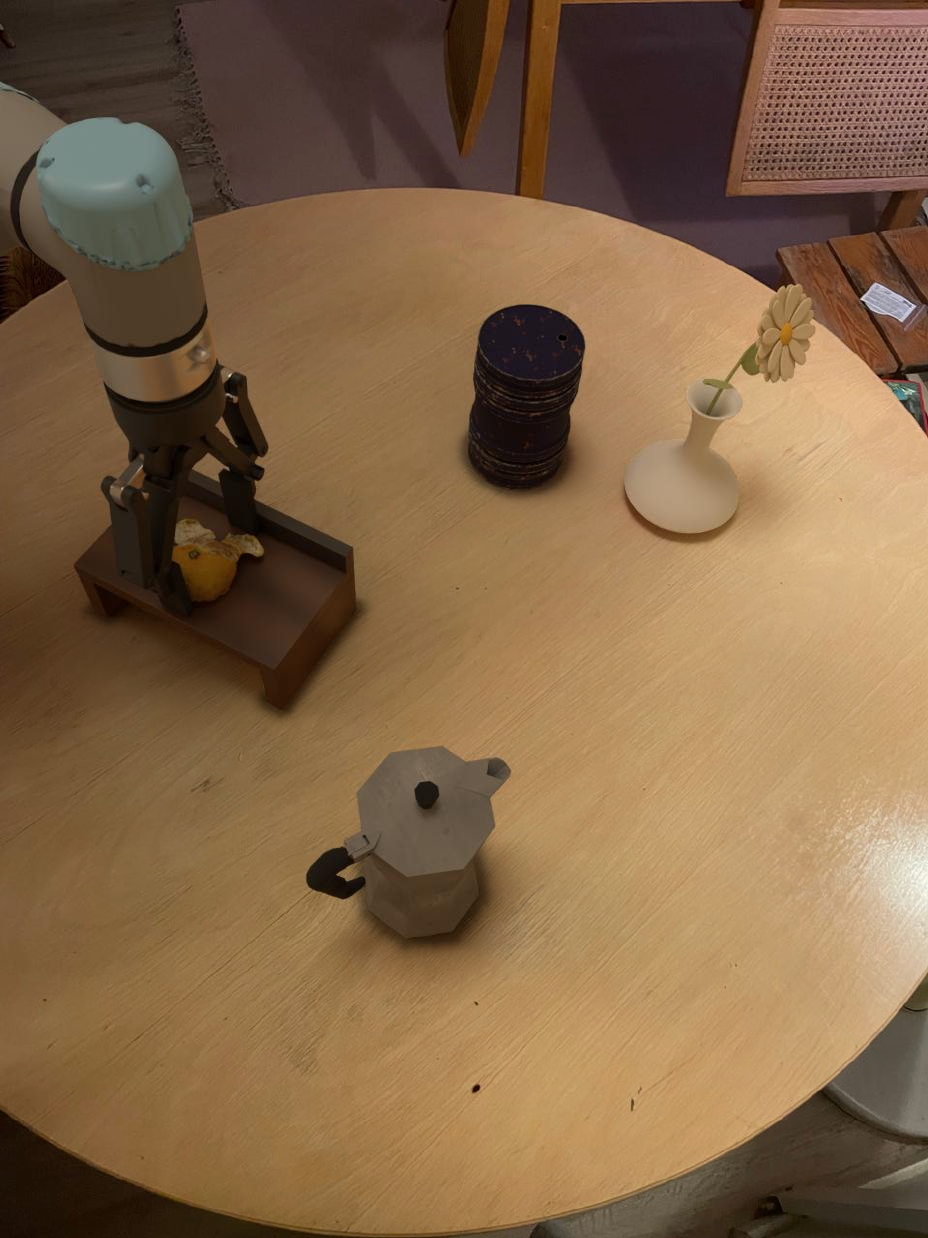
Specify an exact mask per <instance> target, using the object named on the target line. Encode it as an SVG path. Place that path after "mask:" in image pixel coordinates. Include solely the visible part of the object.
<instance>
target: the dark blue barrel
mask: <svg viewBox="0 0 928 1238" xmlns="http://www.w3.org/2000/svg"><path fill="white" fill-rule="evenodd" d="M585 352H586V339H585V335H584V334H583V332H582V330H581V328H580V327H579V326H578V324H577V323H576V322H575V321H574V320H573V319H572V318H570V317H569V316H567V314H565V313H562V312H561V311H558V310H557V309H555V308H552V307H549V306H545V305H538V304H533V303H532V304H530V303H521V304H519V303H518V304H513V305H509V306H505V307H502V308H500V309H498V310H496V311H494V312H492V313H491V314H490V315H489V316H488V317H486V319H485V320H484V321H483V322H482V324H481V325H480V328H479V330H478V334H477V347H476V352H475V355H474V362H473V363H474V365H473V373H472V382H473V389H474V393H475V394H474V400H473V403H472V404H471V409H470V410H469V411H470V412H469V416H468V417H469V418H468V429H467V430H468V432H467V433H468V435H467V436H468V445H467V456H468V460H469V463H470V465H471V467H472V469H473V471H475V473H476V474H477V475H478V476H479V477H481V478H482V479H483V480H485V481H486V482H487V483H489V484H490V485H493V486H495V487H497V488H501V489H505V490H511V491H527V490H533V489H536V488H538V487H542V486H544V485H545V484H547V483H548V482H550V481H551V480H552V479H554V477H556V475H558V473H559V471H560V469H561V467H562V464H563V458H564V454H565V451H566V449H567V445H568V441H569V435H570V433H571V429H572V428H571V427H572V426H571V425H572V423H571V422H572V421H571V408H572V406H573V404H574V402H575V400H576V399H577V395H578V393H579V388H580V383H581V377H582V372H583V363H584V362H583V361H584V359H585V354H586V353H585Z"/></svg>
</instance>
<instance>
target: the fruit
mask: <svg viewBox="0 0 928 1238" xmlns="http://www.w3.org/2000/svg"><path fill="white" fill-rule="evenodd" d="M214 538H216V537H215V535H214V534H213V532H212V531H211V530H210V529H205V528H203V526H201V525H200V523H199V522H198V520H194V519H187V518H185V519H184V520H181V521H179V523H177V524H176V531H175V539H174V542H176V543H177V544H179V545H177V546H176V547H173V555H172V561H174V562H176V563H178V564H180V567H181V570H182V574H183V577H184V580H185V584H186V587H187V590H188V594H189V597H190V600H191V601H192V602H193V601H197V602H200V601H208V602H209V600H210V601H214V600H215V599H216V598H217V597H218V596H219V595H224V594H225V593H226V592H227V591H228V590H230V585H231V583H232V581H233V579H234V576H235V575H236V571H237V569H236V568H237V565H236V562H237V561H238V559H239V557H240V555H241V554H242V553H251V554H253V555H254V556H255V557H261V556H263V554H264V549H263V547H262V546H261V544H260V542H259V541H258V539H257V538H256V537H255V536H254V535H250V534H246V535H236V536H234V535H232V534H231V533H229V534H228V536H227V537H226V538H225V539H224V540H223V541H221V542H218V541H216V540H214Z"/></svg>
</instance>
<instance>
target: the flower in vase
mask: <svg viewBox="0 0 928 1238" xmlns="http://www.w3.org/2000/svg"><path fill="white" fill-rule="evenodd" d="M803 291H804V287H803V285H802V284H800V283H797V284H795V285H793V284H792V283H790V284H788V285H787V286H786V287H785V285H782V286H780V287H779V289H778V290H777V292H776V293H773V294H772V295H771V297H770V299H769V303H768V304H769V305H768V307H765V308H764V309H763V311H762V313H761V320H760V322H758V325H757V330H756V332H757V334H758V336H757V337H756V339H755V341H754V342H753V343H752V344H751V345H750V346H749V347H748V348H747V349H746V350H745V351H744V353H743V354H742V355H741V357H740V358H739V359H738V361H737V362H736V364H735V365H734V366H733V368H732V369H731V370H730V372H729V373H728V375H727V376H726V378H725V379H724V380H723V379H719V378H713V377H705V378H699V379H697V380H694V381H693V382H691V383H690V384H689V386H688V387H687V389H686V392H685V399H686V402H687V405H688V407H689V408H690V410H691V421H690V425H689V430H688V434H687V436H686V439H684V438H670V439H663V440H658V441H655V442H652V443H650V444H648V445H646V446H644V447H643V448H641V449H640V450H639V451H638V452H637V453H636V454H635V455H634V456H633V457H632V458H631V460H630V461H629V462H628V464H627V466H626V468H625V471H624V476H623V484H624V489H625V494H626V496H627V498H628V499H629V501H630V503H631V504H632V506H633V507H634V509H635V510H636V511H637V512H638V513H639V514H640V515H641V516H642V517H643V518H644V519H645V520H647V521H648V522H650V523H651V524H653V525H655V526H657V527H659V528H661V529H663V530H666V531H670V532H674V533H679V534H699V533H704V532H708V531H712V530H714V529H716V528H719V527H721V526H722V525H724V524H725V523H727V522H728V521H729V520H730V519H731V518H732V517H733V515H734V514H735V512H736V511H737V508H738V506H739V503H740V498H741V497H740V496H741V495H740V494H741V493H740V484H739V480H738V477H737V475H736V472H735V470H734V469H733V467H732V465H730V463H729V461H727V459H725V458H724V457H723V456H722V455H721V454H720V453H718V451H716V450H715V449H713V448H711V443H712V441H713V438H714V437H715V434H716V433H717V431H718V429H719V428H720V427H721V425H722V424H723V423H724V422H725V421H726V420H730V419H732V418H734V417H735V416H737V415H738V414H739V412H741V410H742V408H743V398H742V395H741V393H740V392H739V390H738V389H737V388H736V387H735V386H733V385H732V384H731V383H729V382H730V380H731V379H732V377H733V376H734V375H735V373H736V372H737V370H738V369H739V367H740V366H741V369H742V370H743V371H744V372H745V373H746V374H747V375H749V376H752V377H753V376H756V375H759V374H761V375H763V380H764V382H765V383H769V382H771V383H772V384H775V383H777V382H779V380H780V378H781V380H782V381H783V382H784V383H786V382H787V381H788V380H789V379H790V380H791V379H792V378H793V377H794V376H795V375H794V374H795V369H796V364H798V365H799V366H803V365H805V364H806V362H807V355H806V352H808V351H809V349H810V347H811V342H810V340H809V339H810V338H812V337H813V336H814V335H815V334H816V326H815V325H814V324H812V323H811V322H812V321H813V319H814V315H815V312H814V310H812V309H811V308H812V305H813V300H812V298H811V297H807V294H806V293H805V292H804V293H803Z"/></svg>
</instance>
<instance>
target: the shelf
mask: <svg viewBox="0 0 928 1238" xmlns="http://www.w3.org/2000/svg"><path fill="white" fill-rule="evenodd" d="M168 481H169V480H168ZM170 482H172V481H170ZM255 505H256V510H257V516H258V521H259V526H260V531H259V532H258V533H257V535H256V536H255V537H256V538H257V539H258V541H259V542H260V544H261V546H262V547H263V549H264V554H263V556H261V557H255V556H254V555H253V554H251V553H242V554H241V555H240V557H239V559H238V561H237V562H236V565H237V568H236V569H237V571H236V575H235V576H234V579H233V581H232V583H231V585H230V590H228V591H227V592H226V593H225V594H224V595H219V596H218V597H217V598H216V599H215V600H214V601H210V600H209V602H208V601H200V602H197V601H193V602H192V601H191V603H192V607H193V612H192V613H191V614H190V615H189V616H188V617H187V616H185V615H183V614H181V613H179V612H177V611H175V610H174V609H172V608H170V607H168V606H166V605H164V604H162V603H161V602H160V599H159V596H158V595H157V594H155V593H153V592H152V591H150V590H149V589H148V590H145V589H143V588H141V587H139V586H137V585H135V584H133V583H131V582H129V581H127V580H126V579H124V578H122V577H120V576H118V574H117V565H116V557H115V549H114V540H113V532H112V524H111V523H110V525H109V526H108V527H107V528H106V529H105V530H104V531H103V532H102V533H101V534H100V535H99V536H98V538H96V539H95V540H94V542H93V543H92V544H91V545H90V546H89V547H88V548H87V549H86V550H85V551H84V553H82V554H81V556H80V557H79V558H78V559H77V560H76V561H75V562H74V563H73V567H74V569H75V572H76V574H77V575H78V578H79V580H80V583H81V584H82V587H83V589H84V591H85V593H86V596H87V598H88V600H89V602H90V604H91V607H92V609H93V610H94V611H95V612H97V613H99V614H101V615H103V616H105V617H107V618H108V617H109V616H110V615H111V614H112V613H113V612H114V611H115V610H116V608H117V607H118V606H119V605H120V604H121V603H122V602H123V600H125V601H127V602H129V603H131V604H133V605H135V606H136V607H139V608H141V609H142V610H144V611H147V612H148V613H150V614H152V615H154V616H156V617H157V618H159V619H161V620H164V621H165V622H166V623H169V624H171V625H173V626H175V627H177V628H179V629H181V631H184V632H185V633H186V632H187V633H188V634H190V635H192V636H193V637H196V638H198V639H199V640H201V641H203V642H205V643H208V644H209V645H210V646H212V647H215V648H217V649H218V650H221V651H222V652H224V653H226V654H228V655H229V656H232V657H233V658H235V659H238V660H240V661H241V662H243V663H245V664H247V665H249V666H250V667H252V668H255V669H257V670H259V672H260V673H259V674H260V676H261V677H260V678H261V680H262V686H263V690H264V695H265V700H266V702H267V703H268V704H270V705H272V706H273V707H275V708H277V709H279V710H281V711H283V710H284V709H285V708H286V706H287V704H288V703H289V702H290V700H291V699H292V698H293V696H294V695H295V694H296V692H297V691H298V689H299V688H300V686H301V685H302V684H303V682H305V680H306V679H307V677H308V676H309V674H310V673H311V672H312V670H313V669H314V667H315V666H316V664H317V663H318V662H319V660H321V658H322V656H323V655H324V653H326V651H327V650H328V648H329V647H330V646H331V644H332V642H333V641H334V640H335V638H336V637H337V636H338V634H339V633H340V632H341V630H342V629H343V628H344V626H345V625H346V624H347V622H348V620H349V619H350V618H351V617H352V615H353V614H354V613H355V611H356V610H357V595H356V575H355V559H354V558H355V557H354V556H355V554H354V546H352V545H349V544H348V543H346V542H344V541H342V540H340V539H337V538H335V537H333V536H331V535H329V534H328V533H325V532H324V531H321V530H319V529H317V528H315V527H313V526H311V525H308V524H307V523H304V522H302V521H301V520H298V519H296V518H294V517H292V516H290V515H288V514H286V513H284V512H282V511H279V510H278V509H276V508H273V507H272V506H270V505H267V504H266V503H263V502H261V501H259V500H257V499H255ZM185 518H187V519H194V520H198V522H199V523H200V525H201V526H203V528H205V529H210V530H211V531H212V532H213V534H214V535H215V537H216V538H214V540H216V541H218V542H221V541H223V540H224V539H225V538H226V537H227V536H228V534H229V533H231V534H232V535H234V536H236V535H246V534H250V533H248V532H246V531H244V530H242V529H240V528H238V527H236V526H233V525H231V524H229V521H228V517H227V512H226V508H225V503H224V499H223V494H222V490H221V485H220V481H219V480H216V479H214V478H212V477H210V476H207V475H206V474H204V473H202V472H199V471H197V470H195V469H194V468H192V470H191V471H190V473H189V478H188V485H187V493H186V495H185V496H184V497H182V498H180V500H179V508H178V516H177V523H179V521H181V520H184V519H185ZM177 523H176V524H177ZM250 535H252V534H250ZM177 545H179V544H177V543H176V542H174V547H176V546H177Z"/></svg>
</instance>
